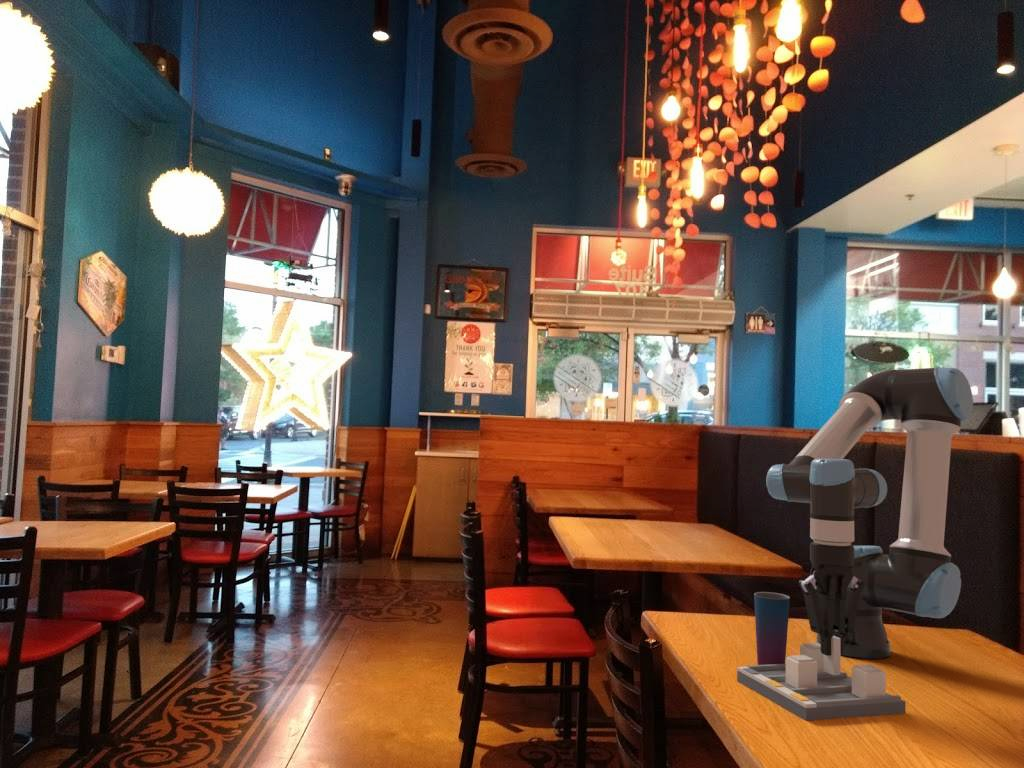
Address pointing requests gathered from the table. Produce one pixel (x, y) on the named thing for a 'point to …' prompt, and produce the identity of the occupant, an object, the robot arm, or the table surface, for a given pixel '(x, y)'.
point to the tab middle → (801, 671)
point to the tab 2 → (868, 681)
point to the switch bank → (817, 694)
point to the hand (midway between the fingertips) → (831, 672)
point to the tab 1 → (813, 654)
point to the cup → (771, 627)
